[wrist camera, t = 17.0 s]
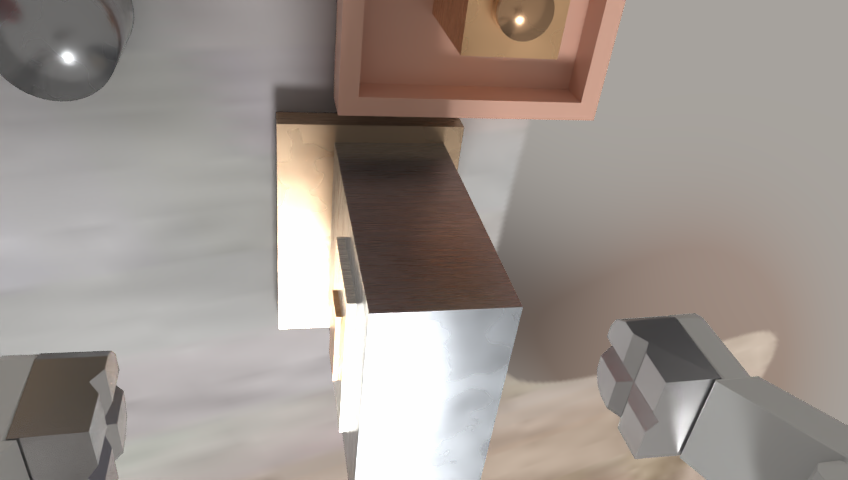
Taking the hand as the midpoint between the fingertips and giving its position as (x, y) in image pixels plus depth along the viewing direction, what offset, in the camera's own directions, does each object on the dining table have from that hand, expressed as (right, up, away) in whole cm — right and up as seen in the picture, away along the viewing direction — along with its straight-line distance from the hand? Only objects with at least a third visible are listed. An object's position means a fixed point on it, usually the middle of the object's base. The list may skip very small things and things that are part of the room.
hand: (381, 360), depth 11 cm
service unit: (-3, +3, +30) cm, 31 cm away
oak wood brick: (+4, +15, +22) cm, 27 cm away
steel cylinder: (-15, +13, +20) cm, 29 cm away
